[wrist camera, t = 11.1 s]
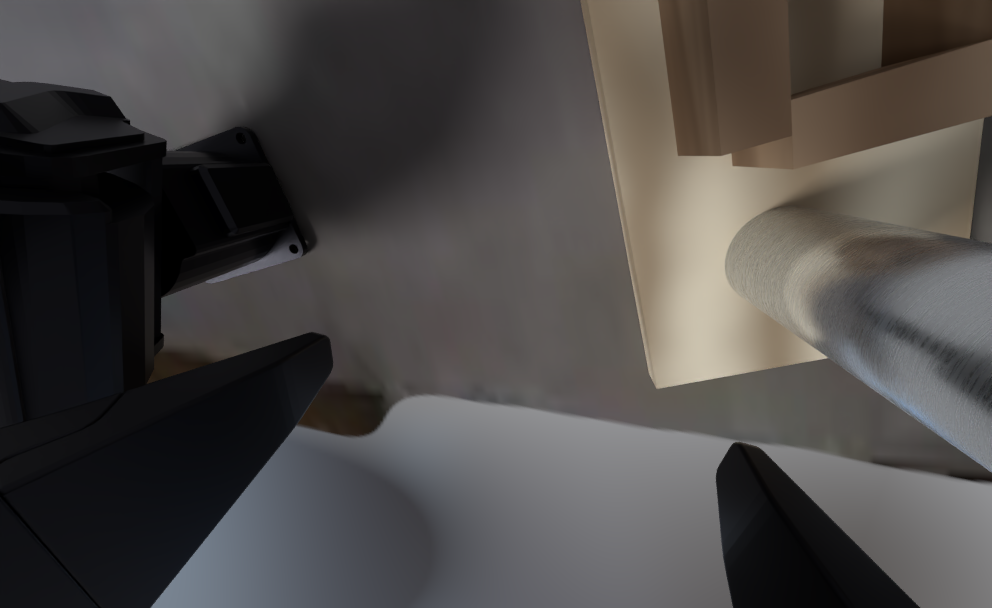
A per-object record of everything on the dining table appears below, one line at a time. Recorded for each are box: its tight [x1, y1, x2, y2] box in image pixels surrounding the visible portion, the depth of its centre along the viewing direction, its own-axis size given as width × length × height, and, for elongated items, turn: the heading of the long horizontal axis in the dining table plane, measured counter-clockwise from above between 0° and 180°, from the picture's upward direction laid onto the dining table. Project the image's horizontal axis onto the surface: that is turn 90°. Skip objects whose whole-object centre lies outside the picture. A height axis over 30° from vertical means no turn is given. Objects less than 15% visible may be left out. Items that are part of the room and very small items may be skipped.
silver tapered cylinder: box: [725, 205, 992, 472], centre depth 11 cm, size 5×5×13 cm
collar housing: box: [580, 0, 992, 389], centre depth 14 cm, size 13×19×6 cm
